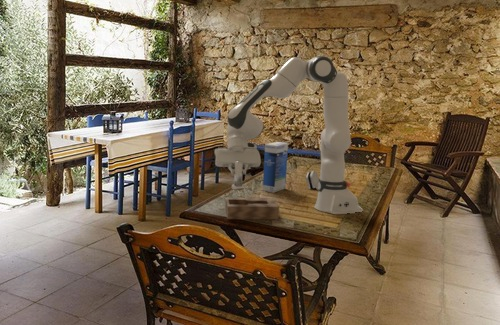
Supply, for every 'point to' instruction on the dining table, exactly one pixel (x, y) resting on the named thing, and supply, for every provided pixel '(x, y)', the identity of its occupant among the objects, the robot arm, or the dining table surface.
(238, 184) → the steel peg
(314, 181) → the hinge
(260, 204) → the wooden compartment tray
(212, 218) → the dining table surface
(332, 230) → the dining table surface
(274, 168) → the string lights box
